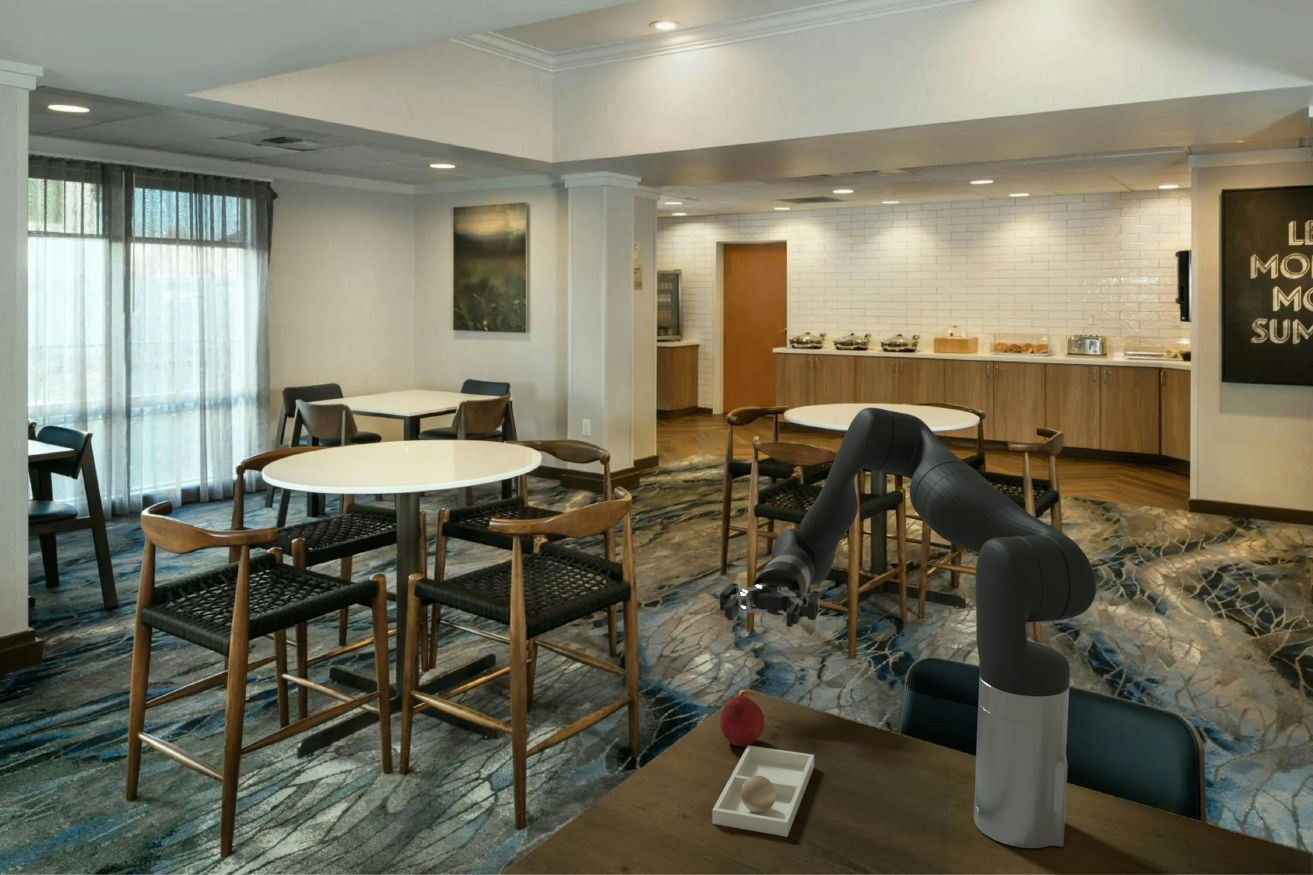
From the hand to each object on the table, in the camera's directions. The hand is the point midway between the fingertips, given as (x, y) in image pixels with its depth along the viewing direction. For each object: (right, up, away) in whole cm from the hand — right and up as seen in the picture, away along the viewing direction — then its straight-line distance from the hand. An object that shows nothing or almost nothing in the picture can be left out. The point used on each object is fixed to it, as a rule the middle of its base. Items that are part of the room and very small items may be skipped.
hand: (759, 616), depth 134 cm
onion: (-3, -16, -8) cm, 18 cm away
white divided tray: (-1, -18, -21) cm, 27 cm away
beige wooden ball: (-3, -18, -25) cm, 30 cm away
